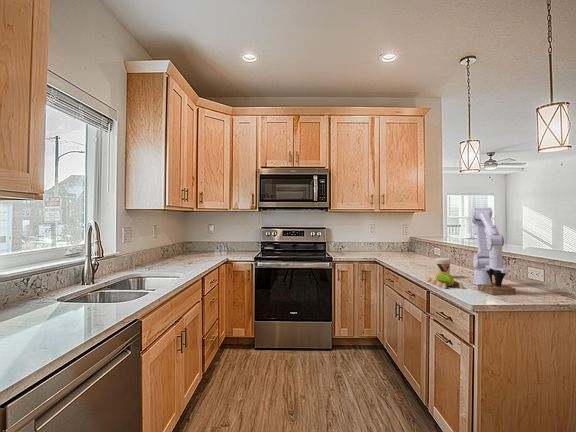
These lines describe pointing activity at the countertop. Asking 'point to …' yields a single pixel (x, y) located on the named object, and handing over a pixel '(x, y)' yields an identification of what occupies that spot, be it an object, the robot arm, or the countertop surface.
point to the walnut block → (497, 289)
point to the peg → (494, 281)
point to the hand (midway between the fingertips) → (496, 285)
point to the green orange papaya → (445, 278)
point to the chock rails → (443, 283)
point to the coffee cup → (442, 265)
